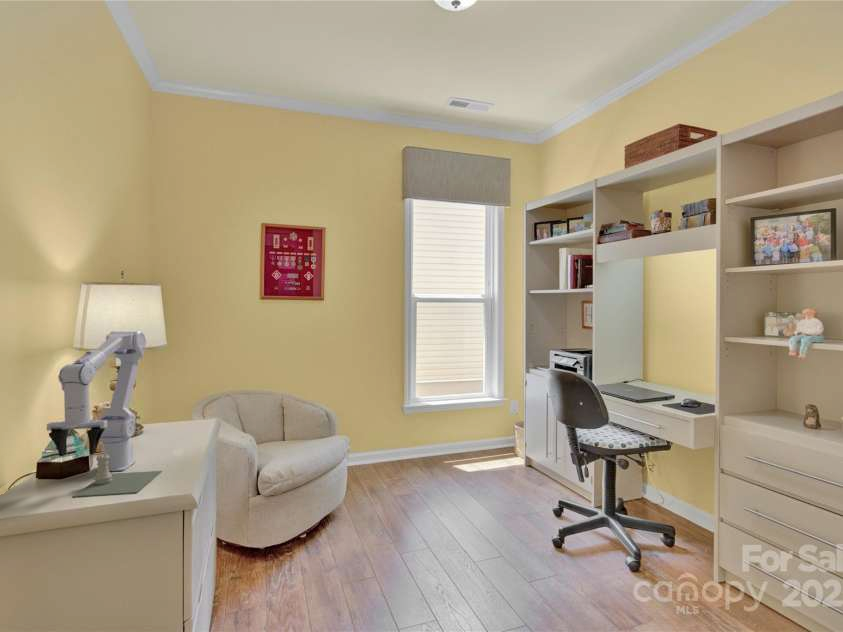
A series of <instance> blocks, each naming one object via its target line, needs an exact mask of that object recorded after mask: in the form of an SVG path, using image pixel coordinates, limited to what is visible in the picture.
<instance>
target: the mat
mask: <svg viewBox="0 0 843 632" xmlns="http://www.w3.org/2000/svg"><path fill="white" fill-rule="evenodd" d="M162 472H163V471H162V470H153V471H152V470H151V471H136V472H135V471H134V472H133V471H131V472H122V473H121V472H115V473H110V474H111V475H112V477H111V479H112V481H111V482H109V483H107V484H102V485H96V484H94V481H93V482H91V483H90V484H88V485H87V486H86V487H84V488H82V489H81V490H80V491H77V493H74V494H73V495H72V496H71V497H72V498H83V497H84V498H85V497H97V496H98V497H99V496H113V495H114V496H115V495H129V494H131V495H132V494H138V493H139V492H140V491H142V489H144V488H145V487H146V486H147V485H149V484H150V482H151V483H152V481H153V480H154V479H156V477H157V476H159V475H160V474H161V473H162Z"/></svg>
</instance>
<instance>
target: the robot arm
mask: <svg viewBox="0 0 843 632" xmlns="http://www.w3.org/2000/svg"><path fill="white" fill-rule="evenodd" d="M146 344H147V339H146V336H145V334H144V333H143V331H141V330H137V331H135V330H134V331H114V330H112V331H110V332H109V333H108V334H106V336H105V341H104V342H103V343H101V345H100V346H98V347H97V348H96V349H88V350H86V351H85V354H83V355H82V356H81V357H80V358H77V359H76V360H75V361H74V362H73V363H69V364H66V365H64V366H63V367H62V368H61V369H60V371H59V375H58V376H57V378H58V382H59V384H60V385H61V390H62V391H63V392H64V393H63V396H64V397H63V398H64V399H63V400H64V405H63V406H64V421H56V422H55V421H53V422H48V423H47V424H46V431H47V432H49V433H48V436H49V438H50V439H51V440H52V441H53V443H54V445H55V447H56V449H57V451H58V455H59V457H63V456H66V455H67V452H68V450H67V447H68V446H67V438H68V433H69V430H81V429H84V430H85V429H88V430H87V431H86V435H87V439H88V447H89V448H88V449H89V451H88V453H89V455H90V456H91V455H94V454H96V453H97V448H98V445H99V442H101V454H102V455H103V454H108V456H109V457H110V458H109V459H108V462H109V463H108V470H109V472H117V471H125V470H126V469H128V468H129V467H130V466H132V465H133V464H135V463H136V462H137V459H134V442H133V440H132V437H133V435H134V434H135V432H136V426H137V425H136V419H137V417H136V415H135V413H133V412H132V411H131V410H130V405H131V400H132V397H133V391H134V386H135V382H136V379H137V374H138V369H139V365H140V361H141V359H142V358H143V356H144V353H145V350H146ZM112 354H113V356H114V357H115V358H116V359H119V360H120V364H119V365H120V366H119V369H118V373H117V378H116V382H115V386H114V390H113V394H112V397H111V403H110V406H109V408H107V410H105V411H103V412H102V413H101V414H100V416H99V419H90V418H91V417H90V416H91V415H90V414H91V413H90V411H91V409H90V408H91V407H90V406H91V405H90V383H92V382H93V381H94V378H95V375H96V373H97V371H99V370H100V369H101V368H102V367H103V366H104V365H105V364H106V362H107V358H108V357H110V356H111V355H112ZM97 470H98V469H96V470H95V471H96V473H97Z"/></svg>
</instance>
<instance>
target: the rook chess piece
mask: <svg viewBox="0 0 843 632" xmlns="http://www.w3.org/2000/svg"><path fill="white" fill-rule="evenodd" d="M109 458H110V457H109V456H108V454H103V455H102V453H101V454H97V457H96V459H95V460H96V461H97V464H96V465H97V469H96V470H97V472H96V474H95V476H94V478H93V480H94V481H93V482H94V484H96V485H102V484H107V483H109V482H111V481H112V479H111V477H112V475H111V474H112V473H111V471H109V470H108V463H109V462H108V459H109Z"/></svg>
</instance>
